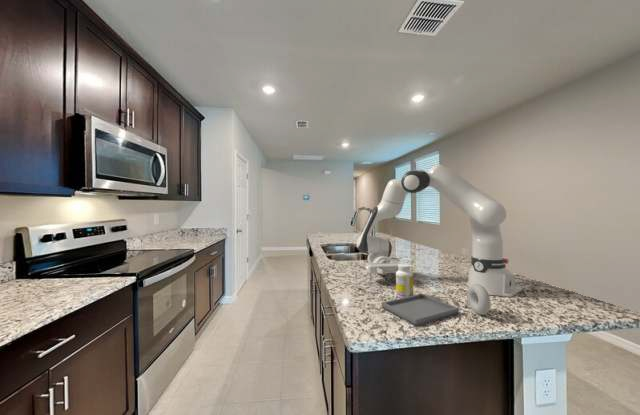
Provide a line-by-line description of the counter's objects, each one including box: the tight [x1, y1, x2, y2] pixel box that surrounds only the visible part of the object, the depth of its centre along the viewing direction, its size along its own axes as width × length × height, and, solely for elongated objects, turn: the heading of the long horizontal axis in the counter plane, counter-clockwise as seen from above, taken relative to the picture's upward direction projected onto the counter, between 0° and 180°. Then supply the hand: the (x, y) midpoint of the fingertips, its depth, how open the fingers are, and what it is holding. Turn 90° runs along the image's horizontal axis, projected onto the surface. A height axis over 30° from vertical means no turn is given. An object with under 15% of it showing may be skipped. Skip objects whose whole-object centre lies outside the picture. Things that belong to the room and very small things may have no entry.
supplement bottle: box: [395, 263, 414, 298], centre depth 103 cm, size 7×7×13 cm
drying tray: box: [381, 293, 460, 327], centre depth 89 cm, size 20×16×2 cm
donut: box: [466, 284, 492, 316], centre depth 86 cm, size 10×4×10 cm, turn 179°
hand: (393, 271), depth 115 cm, fingers open, 8 cm apart
